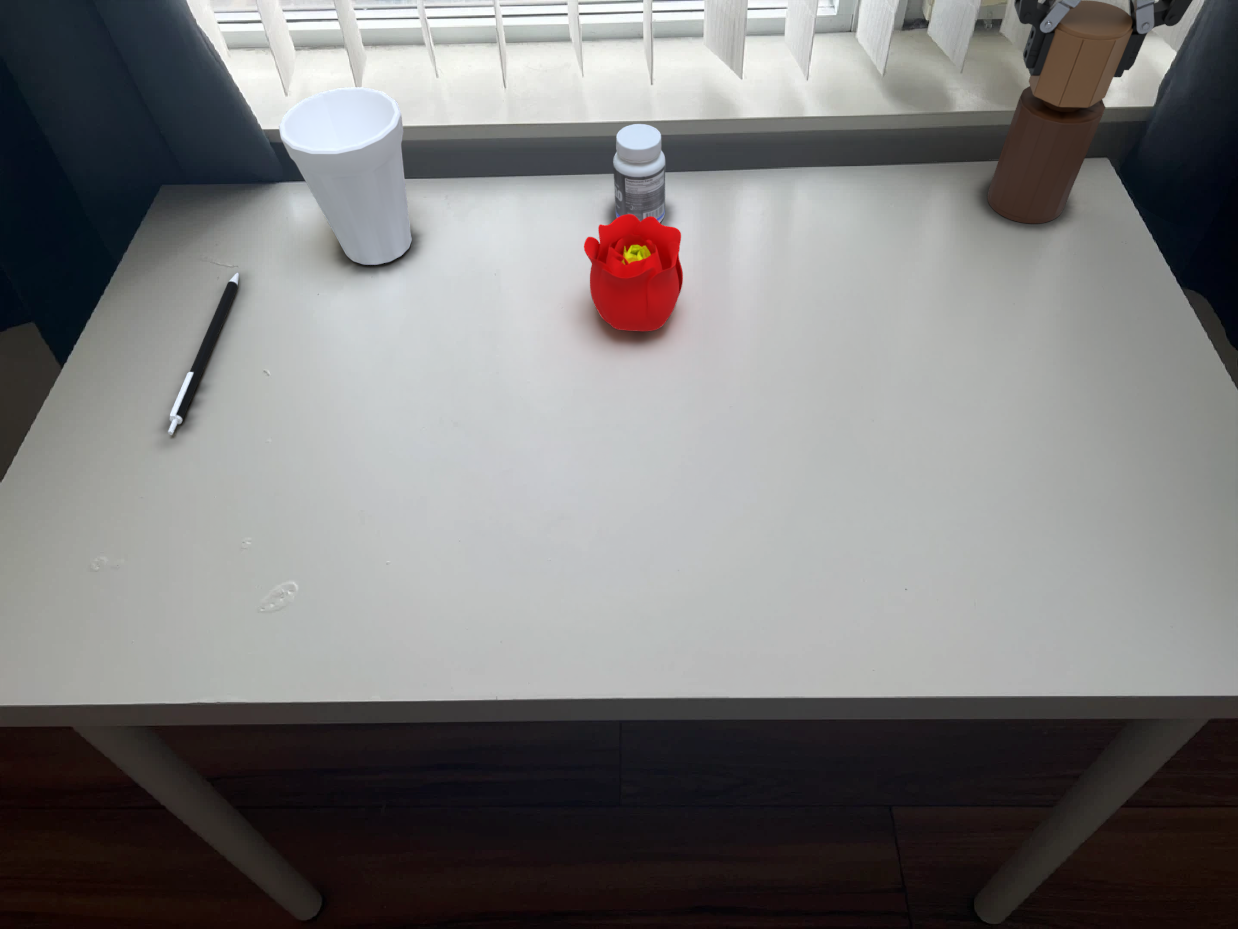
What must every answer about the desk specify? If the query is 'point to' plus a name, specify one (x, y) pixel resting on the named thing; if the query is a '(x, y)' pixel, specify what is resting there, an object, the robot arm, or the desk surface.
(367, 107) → the cup
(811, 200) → the desk surface
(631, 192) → the pill bottle
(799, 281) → the desk surface
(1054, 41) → the brown octagonal prism
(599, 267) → the flower
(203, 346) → the pen
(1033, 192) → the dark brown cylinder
